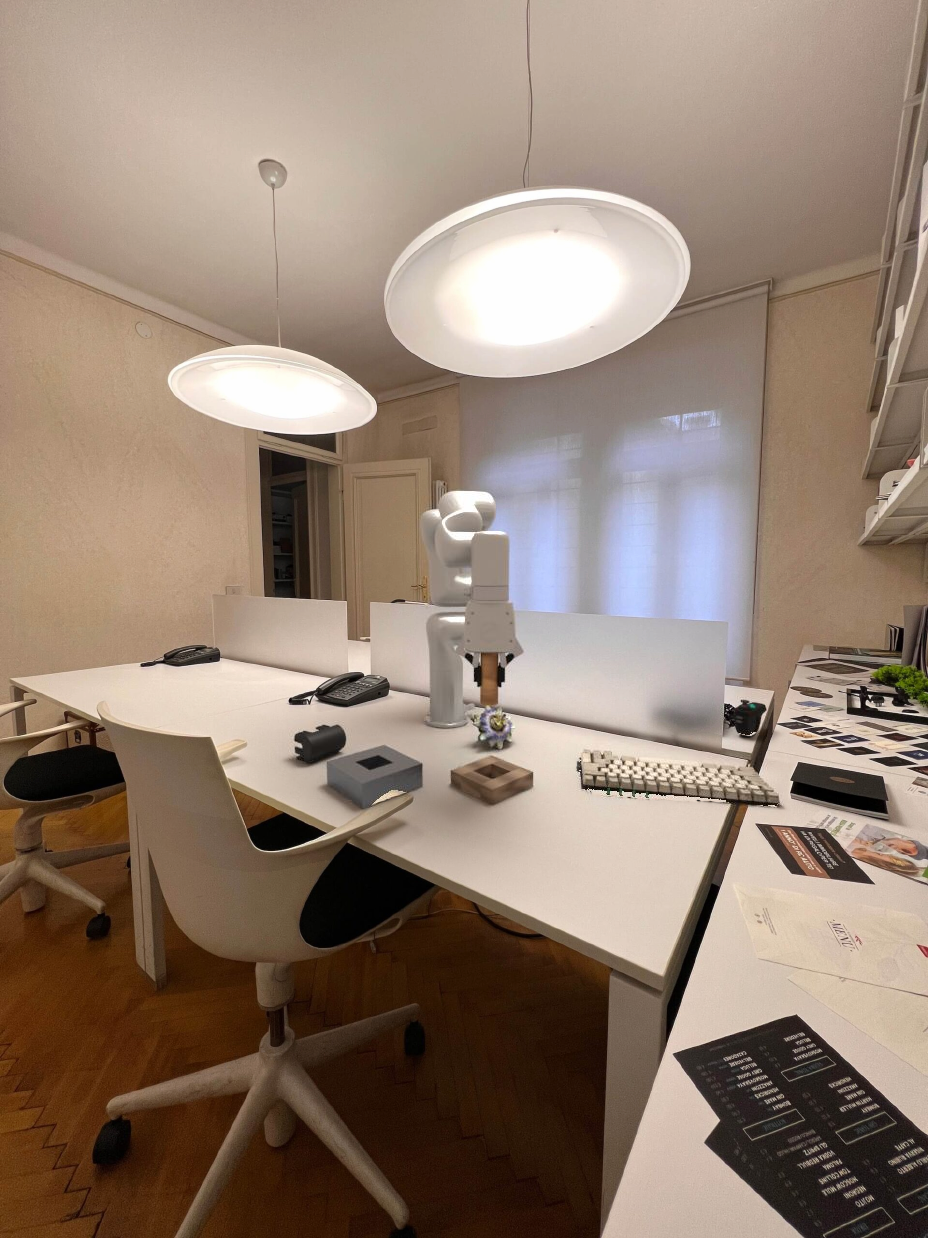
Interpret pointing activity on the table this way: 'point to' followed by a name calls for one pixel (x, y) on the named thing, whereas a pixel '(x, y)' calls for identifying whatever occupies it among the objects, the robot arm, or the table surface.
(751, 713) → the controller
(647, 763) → the mechanical keyboard
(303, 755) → the end cap
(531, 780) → the frame
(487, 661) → the pin
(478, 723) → the passion flower
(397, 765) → the socket block
